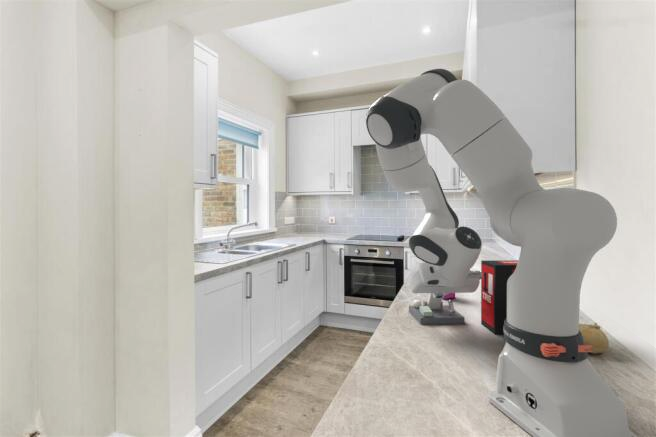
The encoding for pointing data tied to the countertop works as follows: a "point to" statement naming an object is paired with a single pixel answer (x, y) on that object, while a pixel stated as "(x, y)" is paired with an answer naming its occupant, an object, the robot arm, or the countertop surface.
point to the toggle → (451, 307)
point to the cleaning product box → (495, 293)
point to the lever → (433, 302)
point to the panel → (437, 315)
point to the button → (417, 303)
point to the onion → (594, 338)
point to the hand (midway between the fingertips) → (437, 296)
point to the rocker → (425, 311)
